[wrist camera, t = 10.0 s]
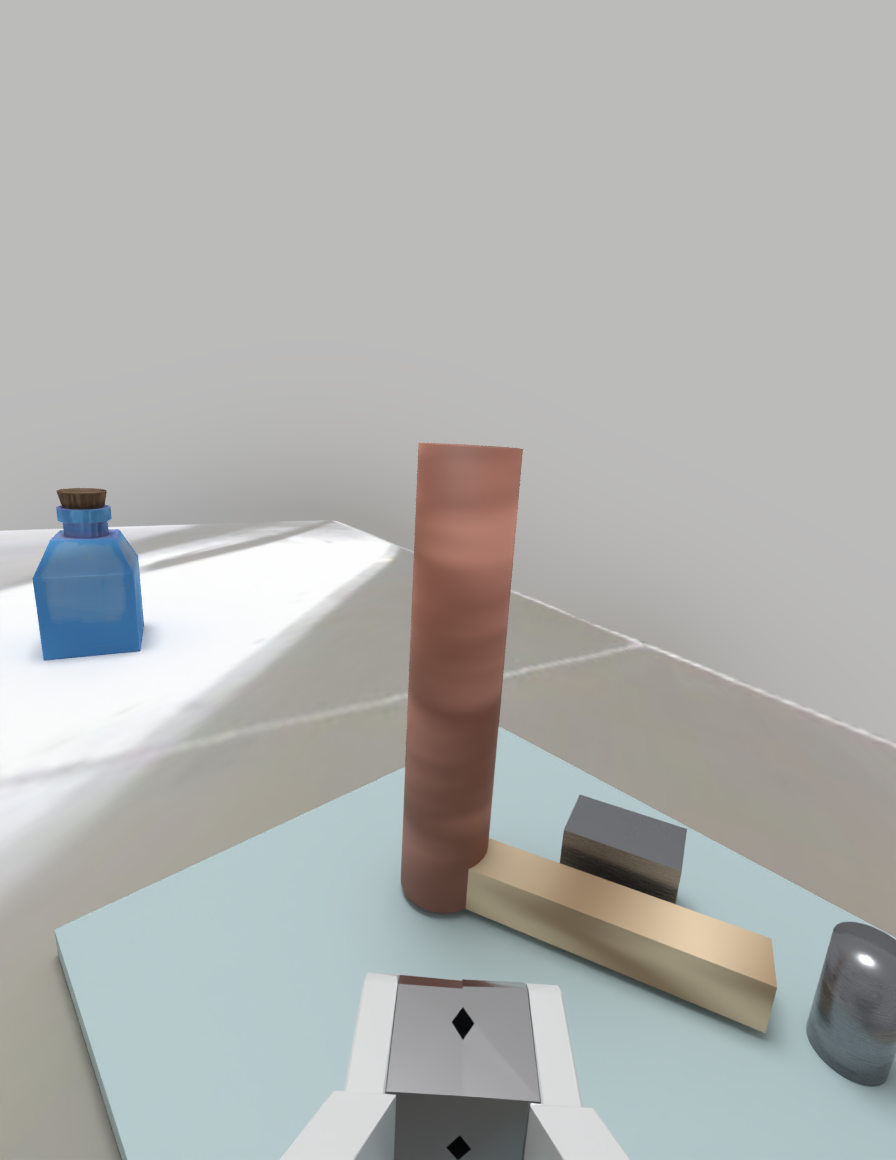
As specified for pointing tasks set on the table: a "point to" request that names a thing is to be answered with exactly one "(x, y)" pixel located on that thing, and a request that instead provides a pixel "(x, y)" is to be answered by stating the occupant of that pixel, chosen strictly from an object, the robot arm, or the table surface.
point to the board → (446, 951)
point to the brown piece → (468, 754)
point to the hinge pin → (856, 1005)
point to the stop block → (624, 848)
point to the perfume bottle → (88, 583)
